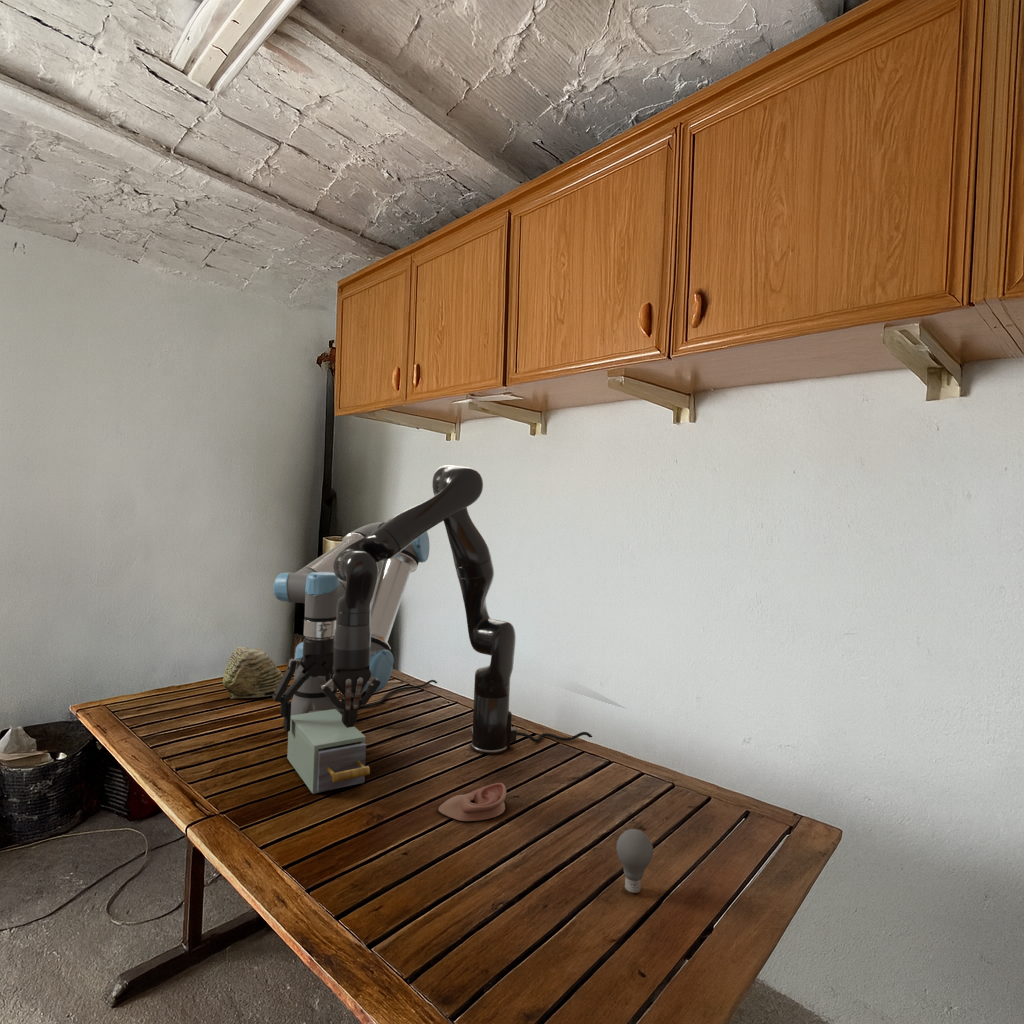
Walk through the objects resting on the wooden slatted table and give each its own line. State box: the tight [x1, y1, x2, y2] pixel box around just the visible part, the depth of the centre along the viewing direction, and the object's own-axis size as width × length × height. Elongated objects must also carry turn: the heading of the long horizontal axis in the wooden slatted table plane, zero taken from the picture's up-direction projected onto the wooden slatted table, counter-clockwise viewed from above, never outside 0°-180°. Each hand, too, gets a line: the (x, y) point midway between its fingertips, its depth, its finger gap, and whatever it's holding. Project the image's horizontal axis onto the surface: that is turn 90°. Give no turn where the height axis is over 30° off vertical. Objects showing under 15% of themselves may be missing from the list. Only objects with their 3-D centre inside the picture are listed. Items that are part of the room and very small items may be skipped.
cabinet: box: [286, 709, 366, 795], centre depth 147 cm, size 21×11×10 cm, turn 34°
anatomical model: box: [438, 782, 507, 822], centre depth 131 cm, size 13×4×12 cm
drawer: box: [317, 742, 371, 794], centre depth 142 cm, size 26×10×8 cm, turn 34°
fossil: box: [222, 646, 284, 699], centre depth 198 cm, size 9×18×15 cm, turn 132°
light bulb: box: [615, 828, 654, 894], centre depth 106 cm, size 6×6×10 cm
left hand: (315, 725), depth 152 cm, fingers open, 13 cm apart
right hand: (349, 726), depth 134 cm, fingers closed
